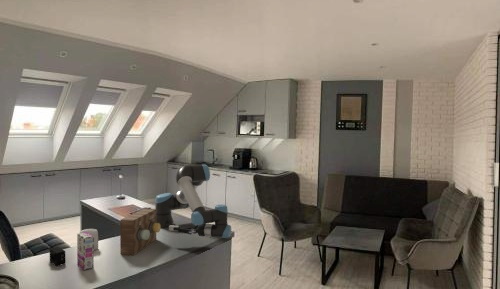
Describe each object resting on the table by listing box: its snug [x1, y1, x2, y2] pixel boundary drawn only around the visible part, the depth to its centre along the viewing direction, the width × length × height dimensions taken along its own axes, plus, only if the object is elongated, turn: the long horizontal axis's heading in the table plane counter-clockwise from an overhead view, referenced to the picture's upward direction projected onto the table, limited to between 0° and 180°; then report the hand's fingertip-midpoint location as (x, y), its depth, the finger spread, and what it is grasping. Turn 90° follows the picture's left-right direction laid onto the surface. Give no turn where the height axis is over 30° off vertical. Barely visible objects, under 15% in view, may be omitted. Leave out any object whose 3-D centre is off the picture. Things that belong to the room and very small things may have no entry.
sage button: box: [140, 230, 150, 240], centre depth 185 cm, size 6×3×6 cm, turn 170°
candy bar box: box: [76, 232, 95, 271], centre depth 164 cm, size 11×5×16 cm, turn 45°
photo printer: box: [79, 228, 99, 251], centre depth 187 cm, size 10×4×12 cm, turn 104°
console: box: [119, 208, 157, 256], centre depth 193 cm, size 28×10×20 cm, turn 170°
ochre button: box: [152, 223, 161, 233], centre depth 199 cm, size 6×3×6 cm, turn 170°
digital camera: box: [49, 246, 66, 267], centre depth 169 cm, size 10×5×7 cm, turn 49°
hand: (169, 227), depth 197 cm, fingers closed
